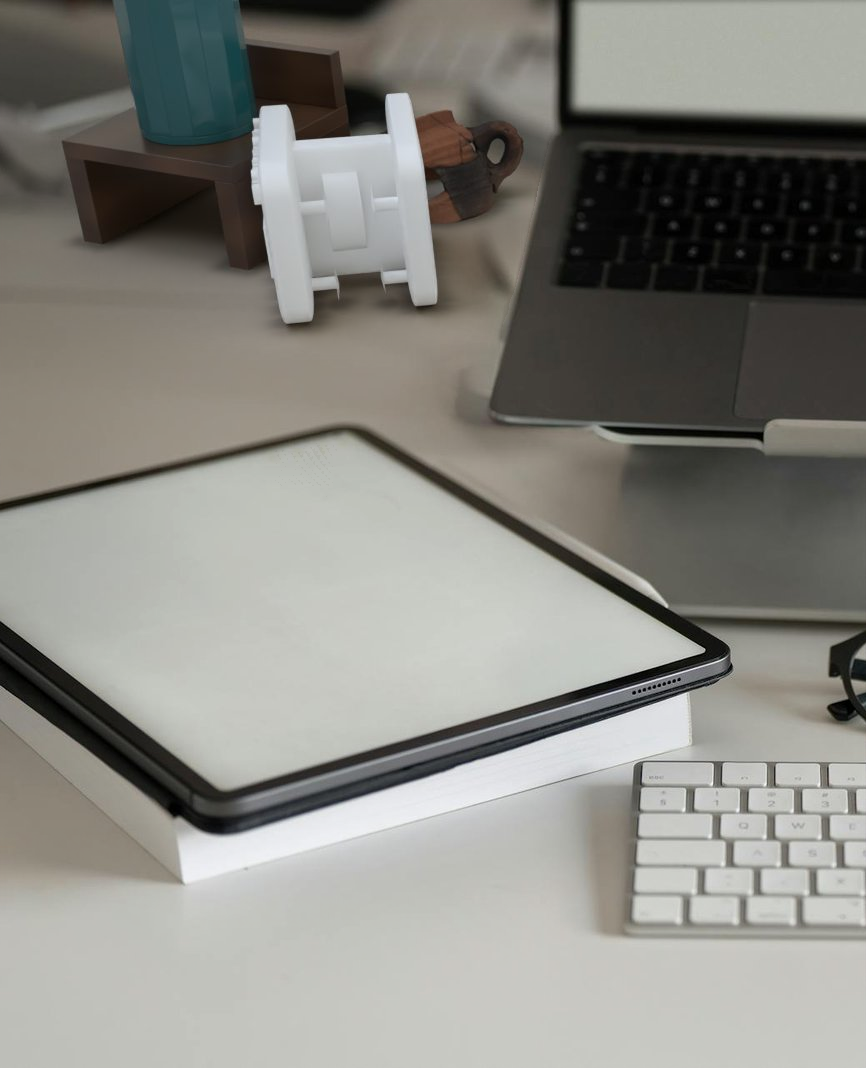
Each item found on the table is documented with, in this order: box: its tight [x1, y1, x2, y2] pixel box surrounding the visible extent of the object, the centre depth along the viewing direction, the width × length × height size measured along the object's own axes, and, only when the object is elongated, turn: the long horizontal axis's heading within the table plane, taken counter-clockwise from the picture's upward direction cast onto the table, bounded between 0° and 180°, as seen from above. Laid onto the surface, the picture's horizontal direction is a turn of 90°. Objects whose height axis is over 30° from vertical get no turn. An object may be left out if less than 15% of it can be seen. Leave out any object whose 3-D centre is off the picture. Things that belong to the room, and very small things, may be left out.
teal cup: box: [112, 0, 257, 146], centre depth 118 cm, size 8×8×11 cm
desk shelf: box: [61, 37, 352, 271], centre depth 123 cm, size 14×14×12 cm
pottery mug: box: [377, 109, 524, 224], centre depth 129 cm, size 12×10×8 cm
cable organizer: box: [251, 92, 438, 325], centre depth 114 cm, size 15×11×12 cm
